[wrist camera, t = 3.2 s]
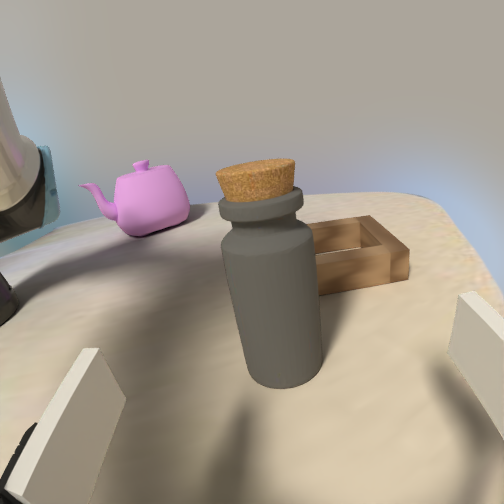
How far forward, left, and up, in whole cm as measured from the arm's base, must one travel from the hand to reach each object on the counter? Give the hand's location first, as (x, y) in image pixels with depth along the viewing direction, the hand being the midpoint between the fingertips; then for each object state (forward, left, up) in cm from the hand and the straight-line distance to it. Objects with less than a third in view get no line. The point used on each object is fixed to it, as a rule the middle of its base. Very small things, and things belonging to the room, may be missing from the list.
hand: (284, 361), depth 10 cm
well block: (+8, +27, -10) cm, 30 cm away
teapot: (-25, +59, -10) cm, 65 cm away
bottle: (0, +11, -10) cm, 15 cm away
